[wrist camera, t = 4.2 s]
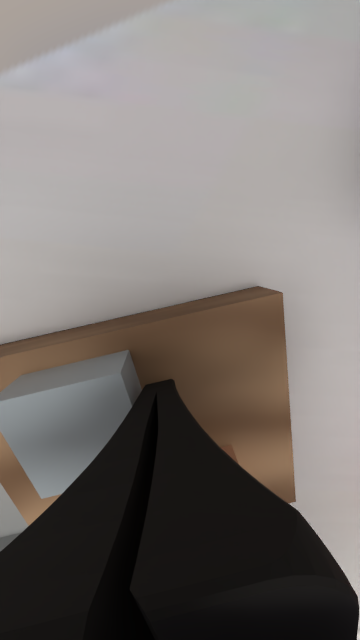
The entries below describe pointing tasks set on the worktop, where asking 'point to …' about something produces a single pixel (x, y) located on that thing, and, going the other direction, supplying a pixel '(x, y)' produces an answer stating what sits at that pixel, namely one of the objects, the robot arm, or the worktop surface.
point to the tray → (9, 520)
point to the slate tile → (66, 416)
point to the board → (185, 378)
